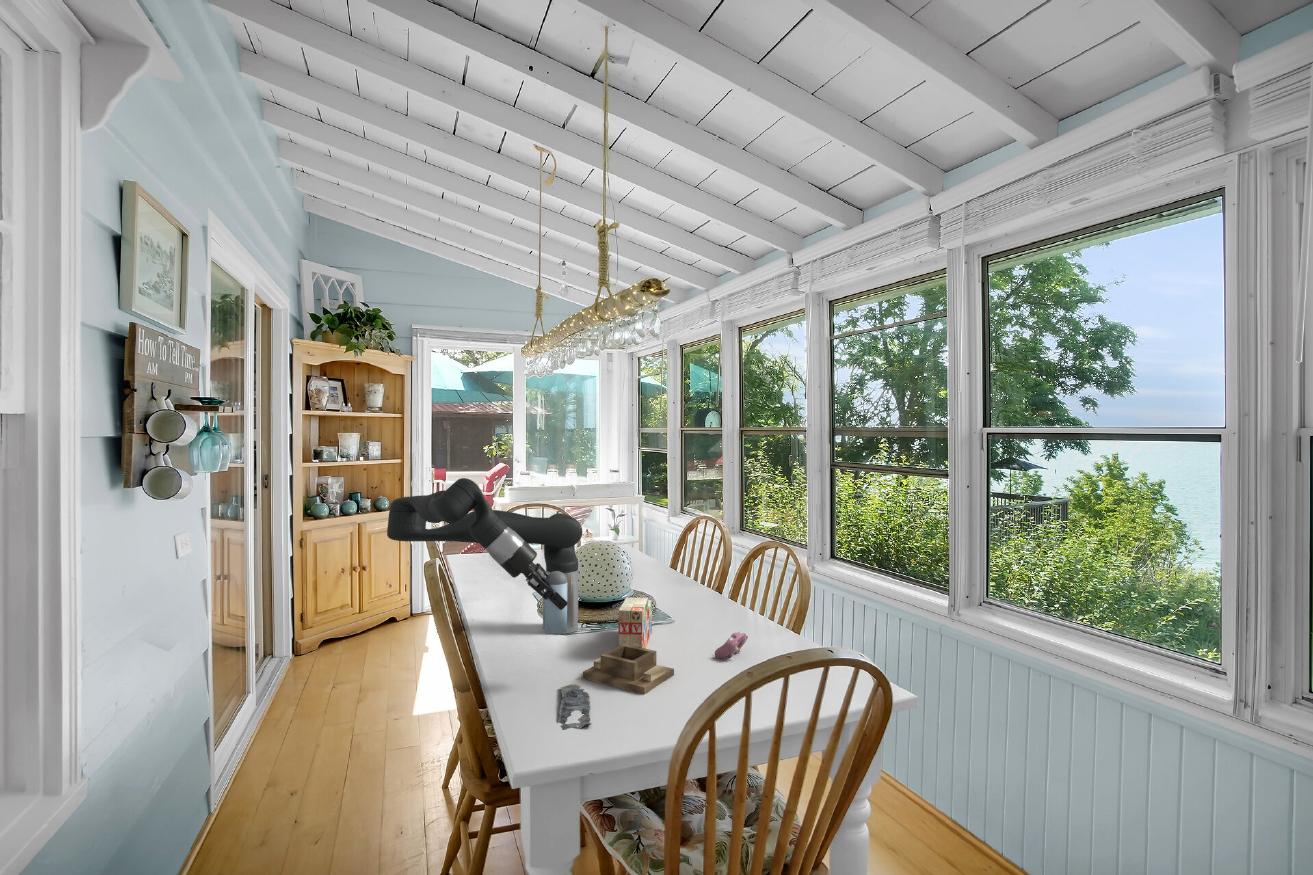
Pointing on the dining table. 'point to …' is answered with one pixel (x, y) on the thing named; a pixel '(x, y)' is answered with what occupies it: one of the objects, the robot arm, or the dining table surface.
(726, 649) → the video game controller
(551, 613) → the ball on cylinder
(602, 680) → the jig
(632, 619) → the stack of blocks
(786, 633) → the dining table surface
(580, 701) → the driftwood
